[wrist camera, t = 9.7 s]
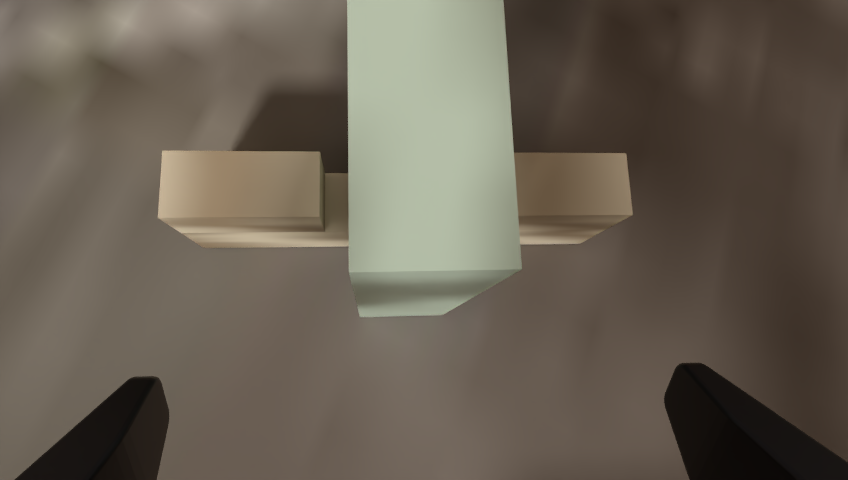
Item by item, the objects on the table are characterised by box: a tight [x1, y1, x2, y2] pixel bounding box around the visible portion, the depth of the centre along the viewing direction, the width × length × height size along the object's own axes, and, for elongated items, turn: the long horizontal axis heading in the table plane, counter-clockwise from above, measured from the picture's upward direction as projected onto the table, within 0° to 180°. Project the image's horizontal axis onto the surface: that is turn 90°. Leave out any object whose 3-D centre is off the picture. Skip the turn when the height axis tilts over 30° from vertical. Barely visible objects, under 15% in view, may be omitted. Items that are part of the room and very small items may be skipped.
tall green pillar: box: [347, 0, 522, 317], centre depth 16 cm, size 7×3×11 cm, turn 2°
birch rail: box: [158, 151, 633, 248], centre depth 19 cm, size 14×2×4 cm, turn 92°
